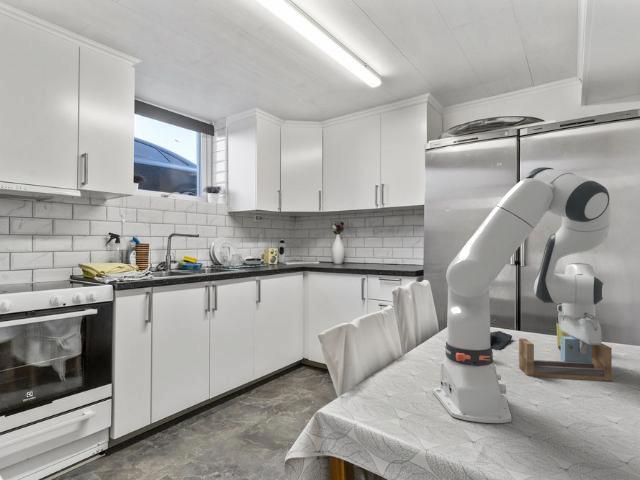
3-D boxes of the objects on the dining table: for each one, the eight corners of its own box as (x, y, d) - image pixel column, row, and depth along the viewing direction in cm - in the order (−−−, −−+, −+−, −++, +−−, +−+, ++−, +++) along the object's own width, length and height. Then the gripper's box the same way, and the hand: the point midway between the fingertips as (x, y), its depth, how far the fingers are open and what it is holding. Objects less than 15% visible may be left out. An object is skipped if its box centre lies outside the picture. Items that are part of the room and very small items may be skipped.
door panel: (599, 365, 120) (599, 341, 120) (566, 363, 121) (566, 339, 121) (592, 361, 124) (592, 337, 124) (560, 359, 125) (560, 336, 125)
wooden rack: (612, 381, 110) (612, 348, 110) (527, 375, 115) (527, 344, 115) (597, 371, 118) (597, 341, 118) (518, 367, 122) (518, 337, 122)
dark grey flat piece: (519, 342, 156) (519, 331, 156) (498, 352, 141) (498, 340, 141) (483, 335, 167) (483, 324, 167) (460, 344, 152) (460, 332, 152)
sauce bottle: (570, 347, 145) (570, 298, 145) (580, 352, 139) (579, 301, 139) (553, 347, 146) (553, 298, 146) (562, 351, 140) (561, 300, 140)
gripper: (608, 317, 112) (607, 361, 112) (573, 305, 132) (573, 343, 132) (585, 316, 113) (585, 360, 113) (554, 305, 133) (554, 342, 133)
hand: (578, 351), depth 123 cm, fingers closed on door panel, 3 cm apart
